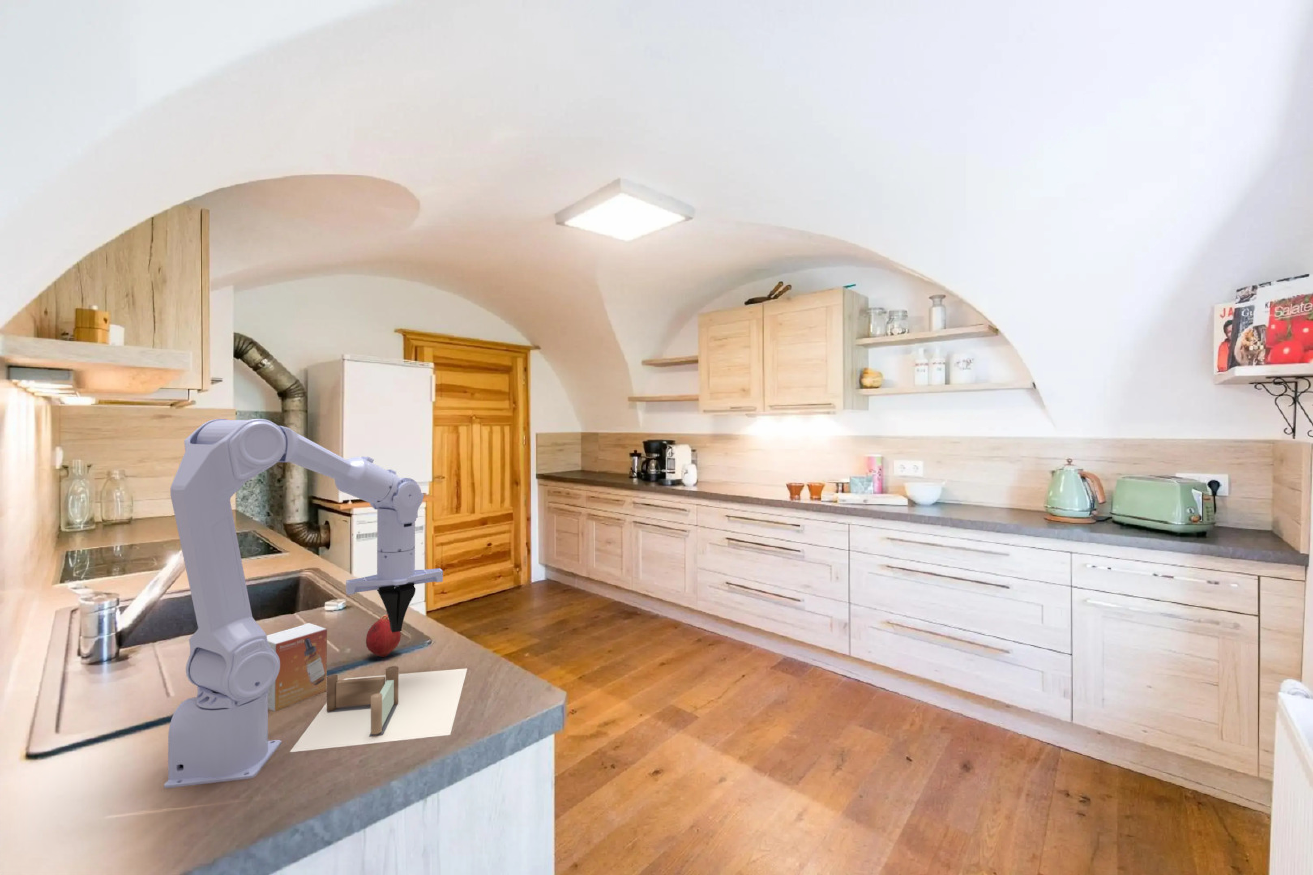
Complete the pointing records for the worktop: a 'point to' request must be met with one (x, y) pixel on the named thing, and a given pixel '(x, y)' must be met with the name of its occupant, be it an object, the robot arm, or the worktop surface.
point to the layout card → (392, 714)
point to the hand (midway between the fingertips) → (395, 630)
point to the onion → (382, 637)
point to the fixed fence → (358, 689)
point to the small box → (298, 665)
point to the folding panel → (381, 706)
